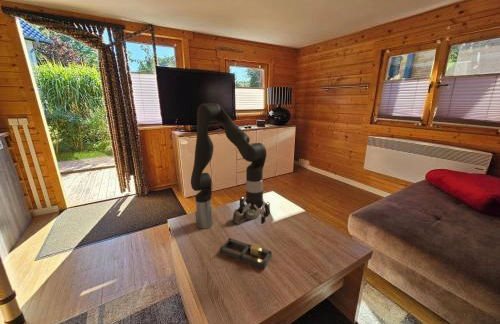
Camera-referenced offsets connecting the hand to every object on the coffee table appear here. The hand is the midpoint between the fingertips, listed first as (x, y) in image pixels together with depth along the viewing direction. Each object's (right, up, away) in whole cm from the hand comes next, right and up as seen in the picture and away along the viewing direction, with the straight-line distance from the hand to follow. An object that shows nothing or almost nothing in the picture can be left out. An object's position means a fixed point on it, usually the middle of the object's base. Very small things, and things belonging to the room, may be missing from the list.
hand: (254, 220), depth 98 cm
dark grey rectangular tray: (-4, -19, +8) cm, 21 cm away
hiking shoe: (-4, -10, +41) cm, 42 cm away
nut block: (+1, -20, +5) cm, 21 cm away
